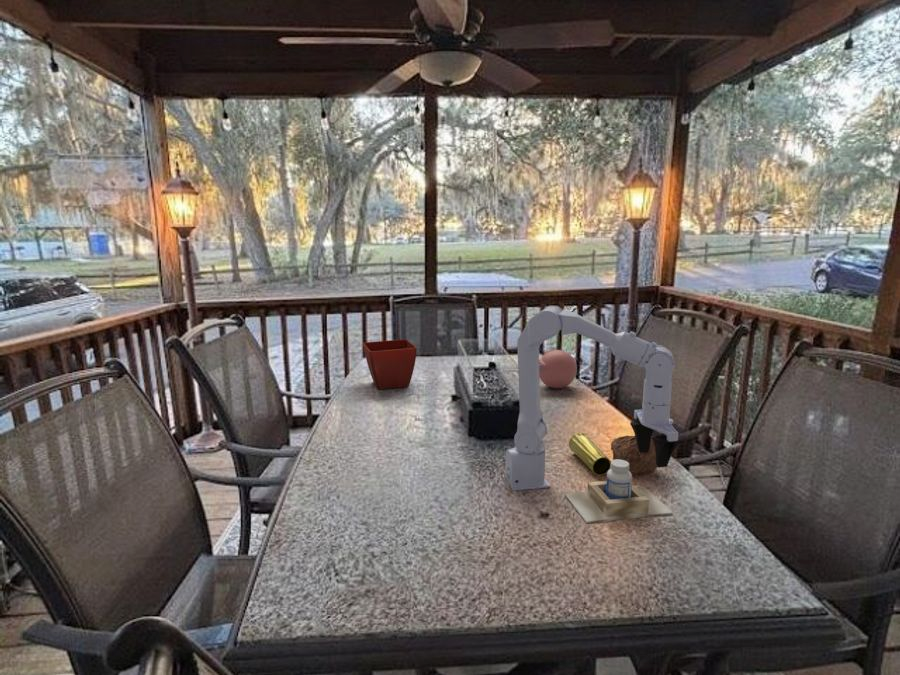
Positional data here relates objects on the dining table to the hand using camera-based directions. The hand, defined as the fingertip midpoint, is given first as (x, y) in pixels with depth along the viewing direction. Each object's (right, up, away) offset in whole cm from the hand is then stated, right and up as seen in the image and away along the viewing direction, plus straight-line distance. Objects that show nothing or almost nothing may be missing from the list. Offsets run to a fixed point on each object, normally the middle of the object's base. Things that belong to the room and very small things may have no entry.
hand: (652, 459), depth 115 cm
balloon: (-5, +7, +89) cm, 89 cm away
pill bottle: (-8, -10, +1) cm, 13 cm away
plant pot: (-70, +8, +96) cm, 119 cm away
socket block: (-8, -11, +1) cm, 13 cm away
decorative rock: (+3, -7, +17) cm, 19 cm away
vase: (-10, -2, +28) cm, 29 cm away
